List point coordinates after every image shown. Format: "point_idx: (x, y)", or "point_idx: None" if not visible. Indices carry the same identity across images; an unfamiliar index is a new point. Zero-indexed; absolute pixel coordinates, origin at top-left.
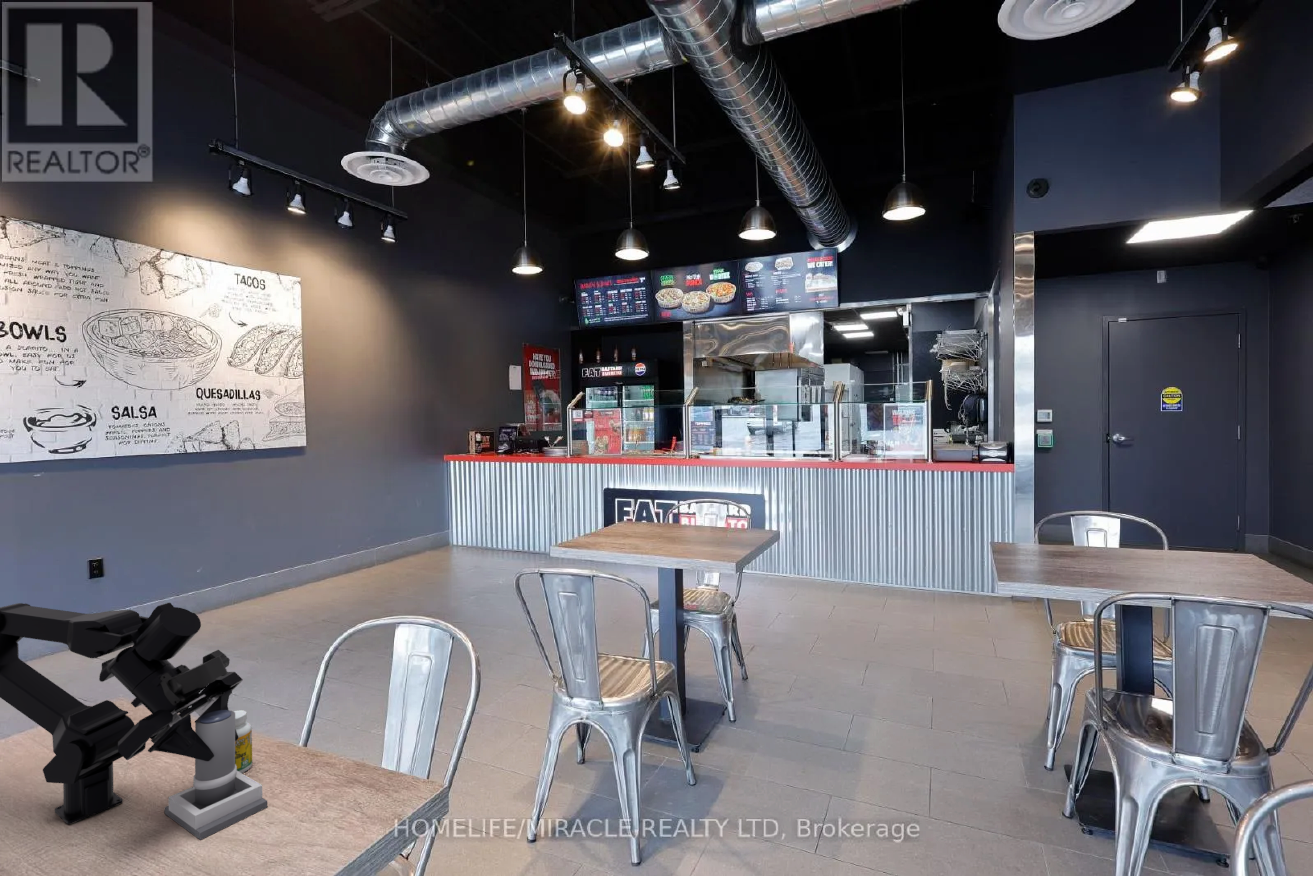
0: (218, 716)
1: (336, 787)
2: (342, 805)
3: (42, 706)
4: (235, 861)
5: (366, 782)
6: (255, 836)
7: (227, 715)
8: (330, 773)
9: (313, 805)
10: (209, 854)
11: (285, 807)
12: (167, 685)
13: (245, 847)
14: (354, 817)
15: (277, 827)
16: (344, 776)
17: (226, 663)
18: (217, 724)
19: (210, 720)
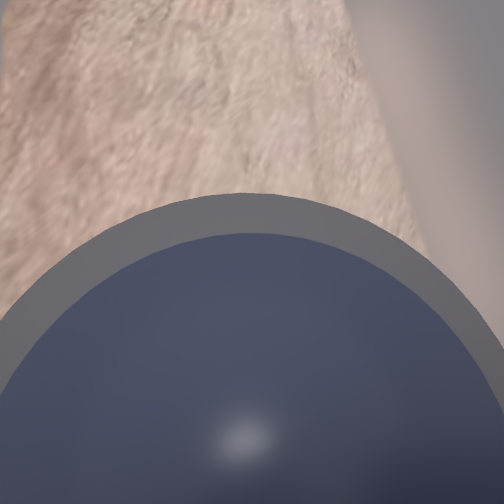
0: (275, 401)
1: (79, 110)
2: (154, 51)
3: None
4: (374, 133)
5: (48, 53)
6: (298, 156)
7: (195, 269)
8: (7, 172)
9: (164, 113)
10: (375, 205)
11: (184, 174)
12: None
13: (334, 148)
14: (192, 3)
15: (259, 133)
16: (22, 123)
17: None
18: (397, 246)
19: (445, 396)
